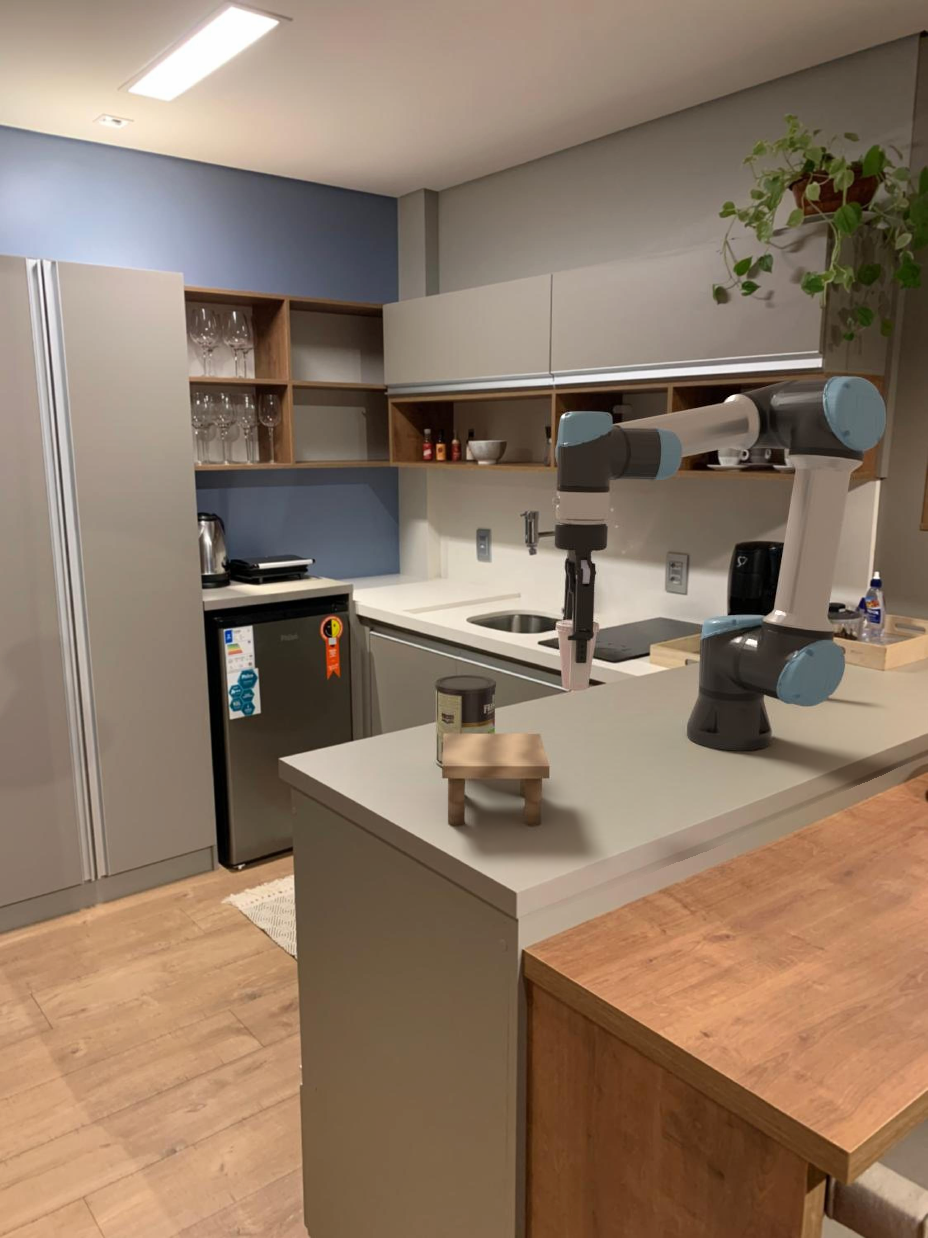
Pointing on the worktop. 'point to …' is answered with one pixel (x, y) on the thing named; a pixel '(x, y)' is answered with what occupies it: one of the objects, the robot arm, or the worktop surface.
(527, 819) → the tan square-topped part
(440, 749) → the coffee can
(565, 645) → the smoothie
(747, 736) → the robot arm
